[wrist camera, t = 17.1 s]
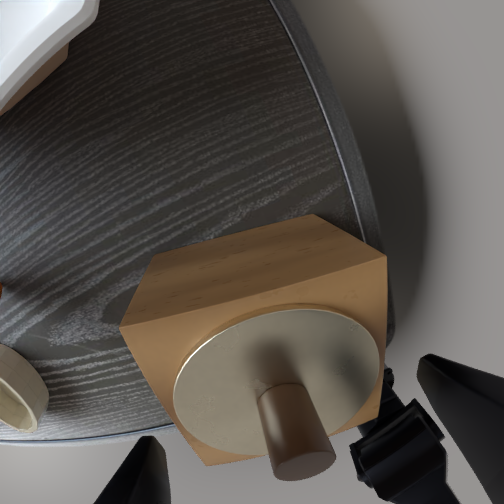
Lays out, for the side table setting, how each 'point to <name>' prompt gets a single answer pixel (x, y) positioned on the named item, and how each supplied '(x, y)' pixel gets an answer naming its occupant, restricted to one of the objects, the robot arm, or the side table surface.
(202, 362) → the lid
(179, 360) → the stand
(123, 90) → the side table surface
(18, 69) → the bowl
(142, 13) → the side table surface
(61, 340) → the side table surface
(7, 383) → the pot
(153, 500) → the robot arm
